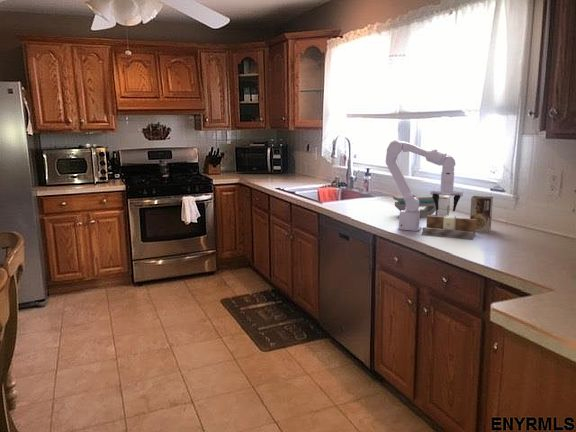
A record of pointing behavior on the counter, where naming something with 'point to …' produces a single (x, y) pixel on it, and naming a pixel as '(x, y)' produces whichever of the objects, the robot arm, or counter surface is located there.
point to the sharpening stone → (424, 201)
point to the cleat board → (462, 230)
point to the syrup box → (443, 206)
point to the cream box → (449, 222)
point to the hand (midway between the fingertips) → (445, 210)
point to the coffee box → (482, 212)
